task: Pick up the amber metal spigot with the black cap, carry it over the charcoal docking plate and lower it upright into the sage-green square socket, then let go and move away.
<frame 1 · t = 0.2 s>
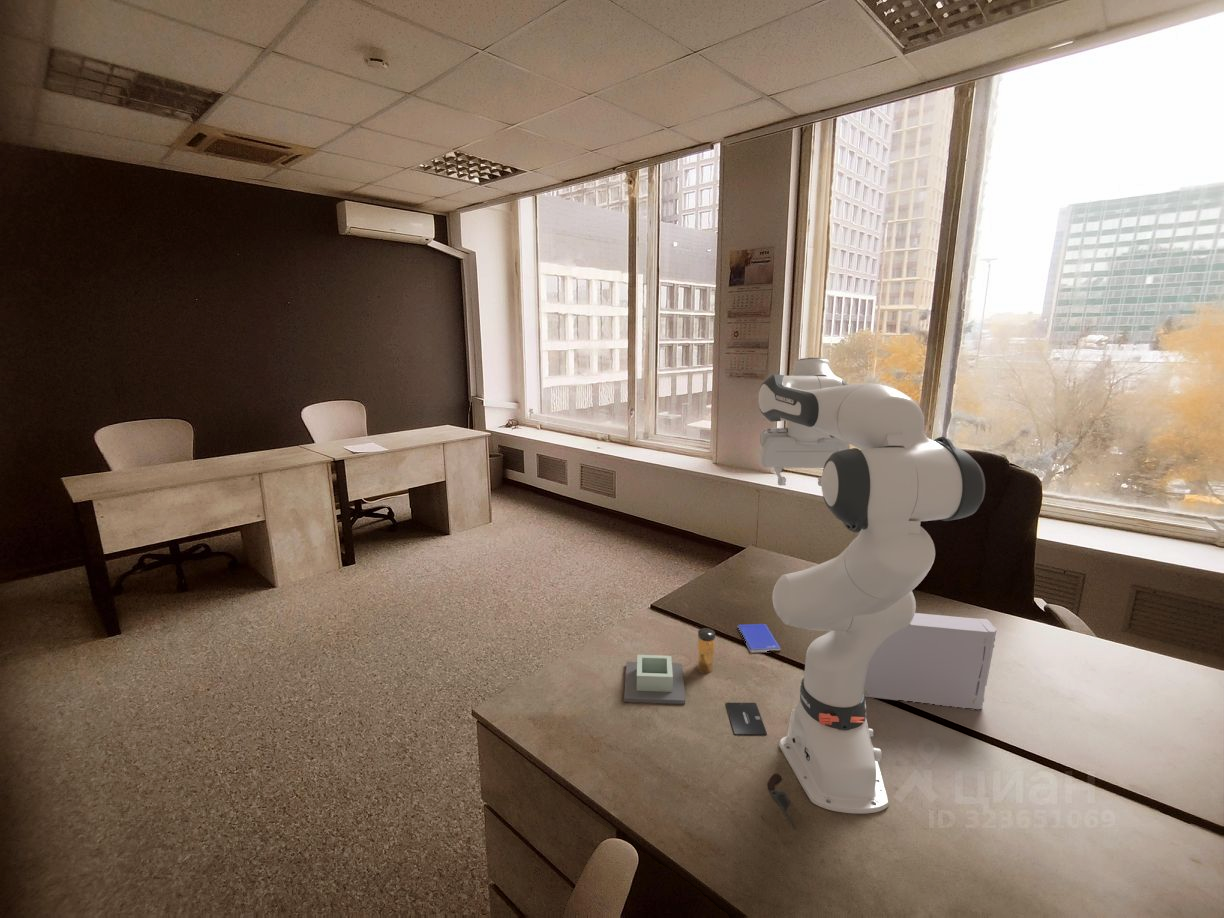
hand: (801, 485, 130), 47 cm above the table, tool pointing down, fingers open, 8 cm apart
dark curved piece: (789, 808, 99), on the table
hard drive: (758, 641, 151), on the table
docking plate: (654, 683, 133), on the table
solid state drive: (745, 721, 121), on the table
spigot: (705, 667, 139), on the table
game console: (915, 696, 128), on the table
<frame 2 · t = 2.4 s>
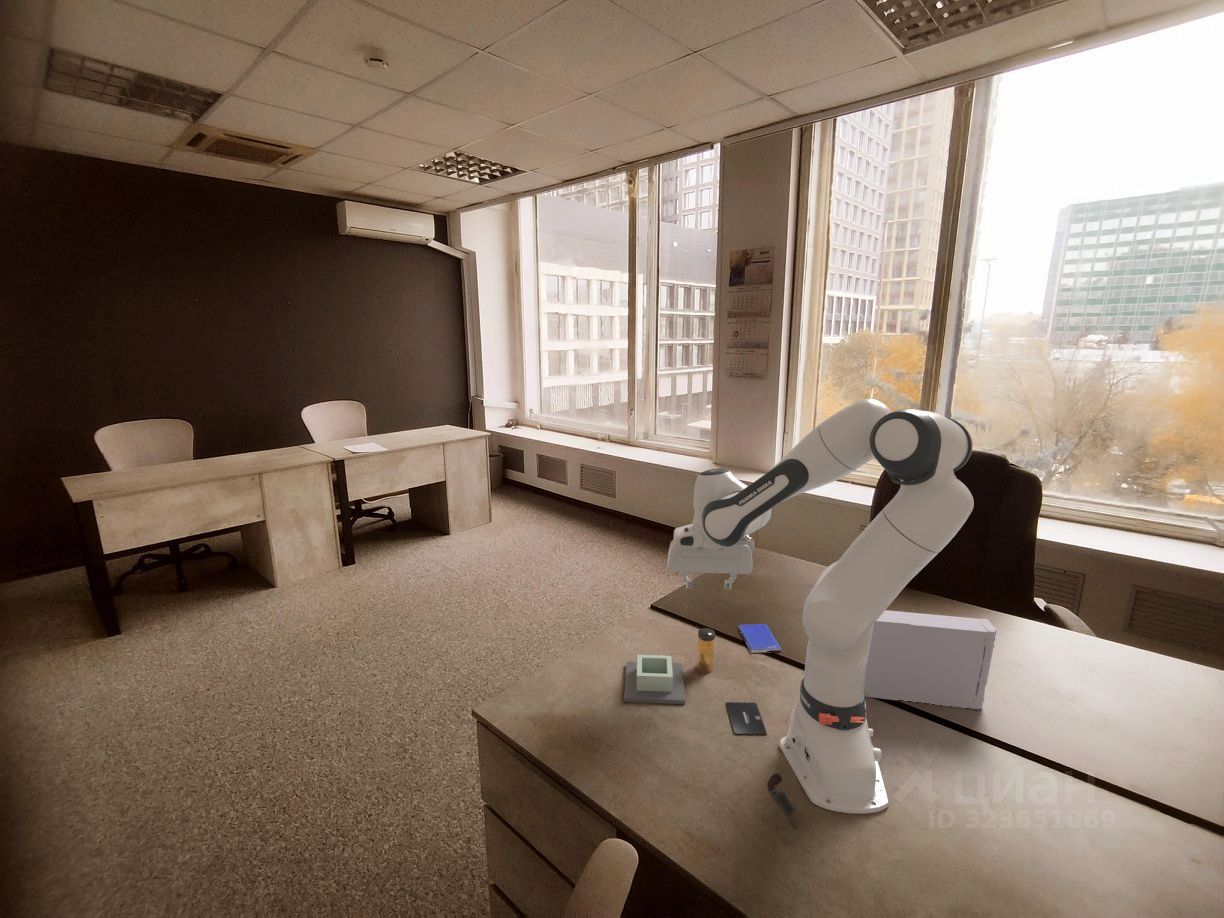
hand: (708, 587, 133), 22 cm above the table, tool pointing down, fingers open, 8 cm apart
nothing on the table moved.
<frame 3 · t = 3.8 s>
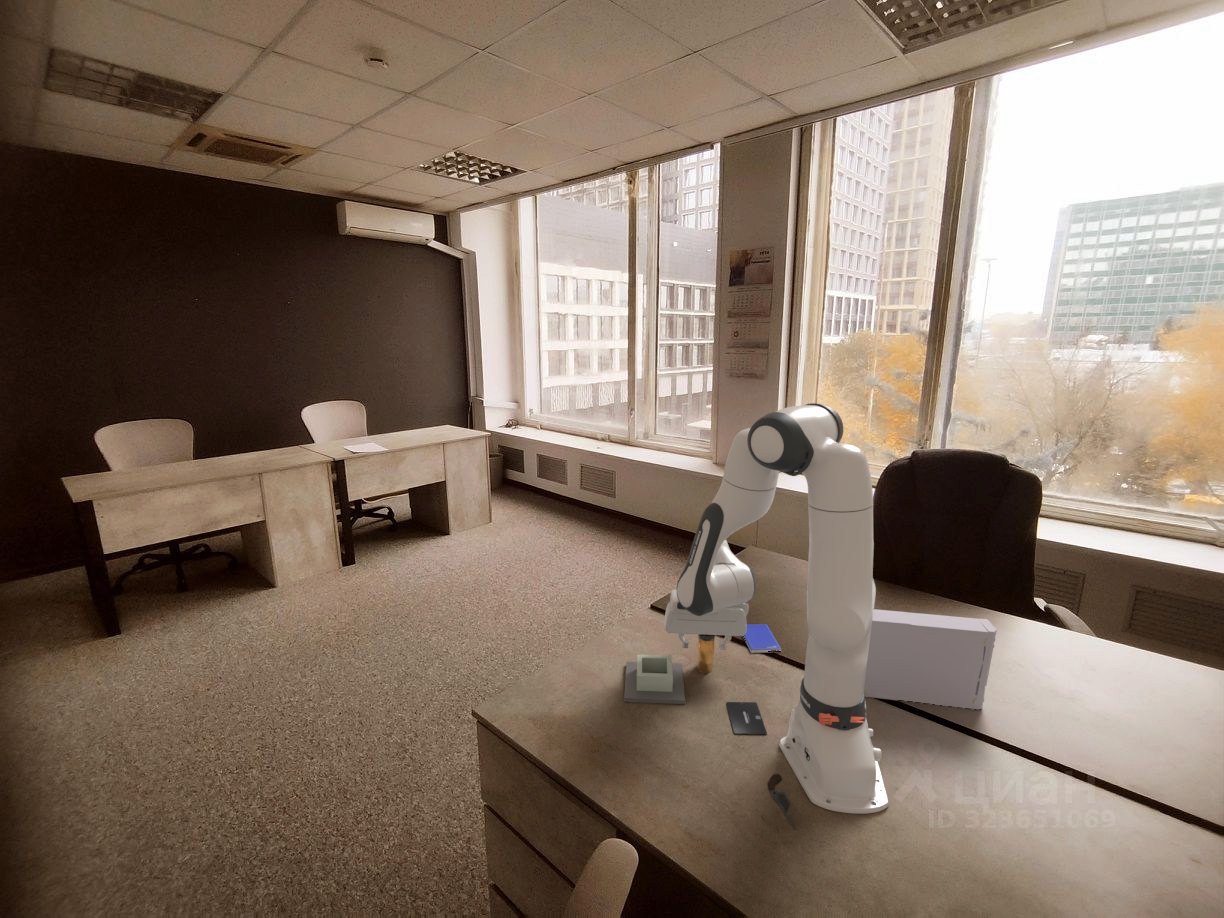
hand: (703, 647, 137), 6 cm above the table, tool pointing down, fingers open, 8 cm apart
nothing on the table moved.
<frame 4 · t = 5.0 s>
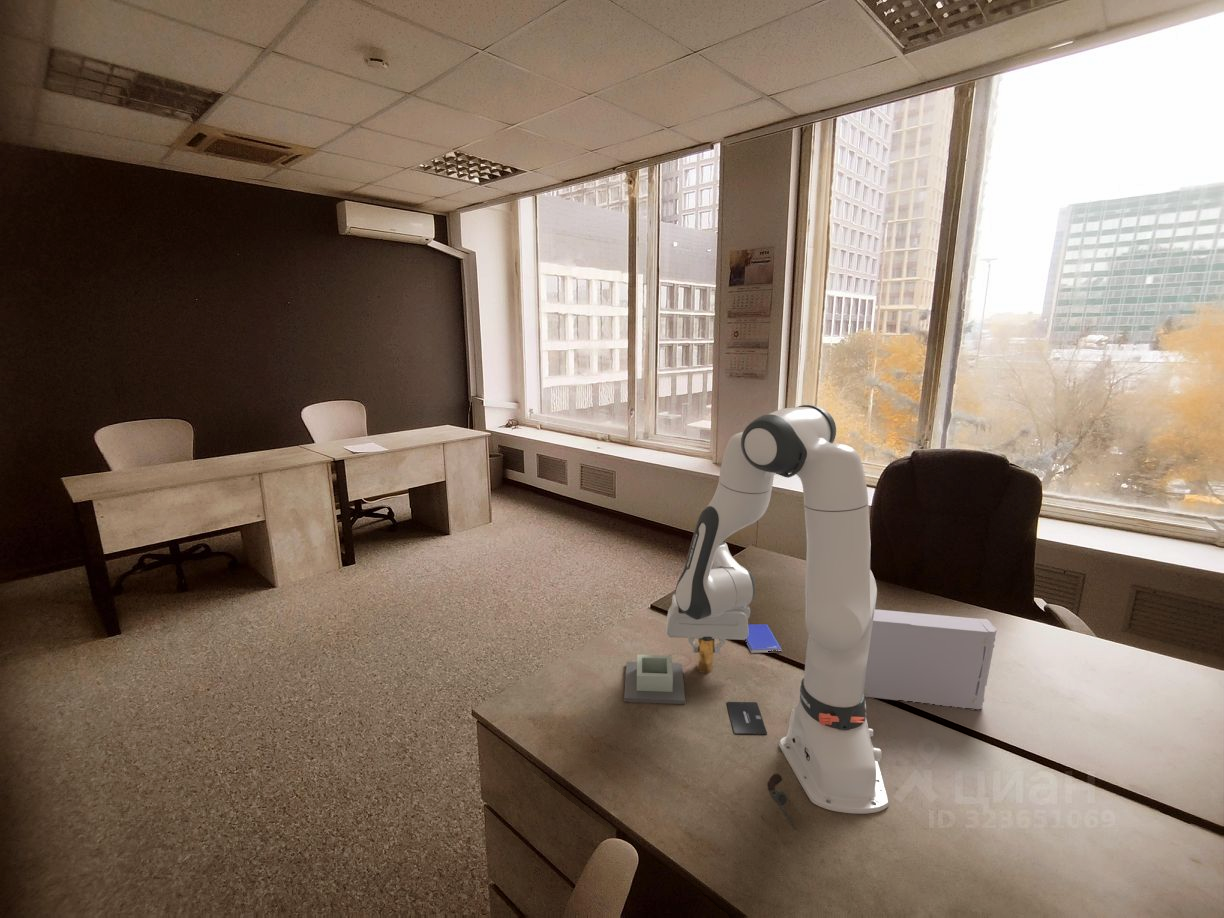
hand: (705, 651, 137), 5 cm above the table, tool pointing down, fingers closed on spigot, 4 cm apart
spigot: (705, 667, 139), on the table, touching gripper
everything else where it was.
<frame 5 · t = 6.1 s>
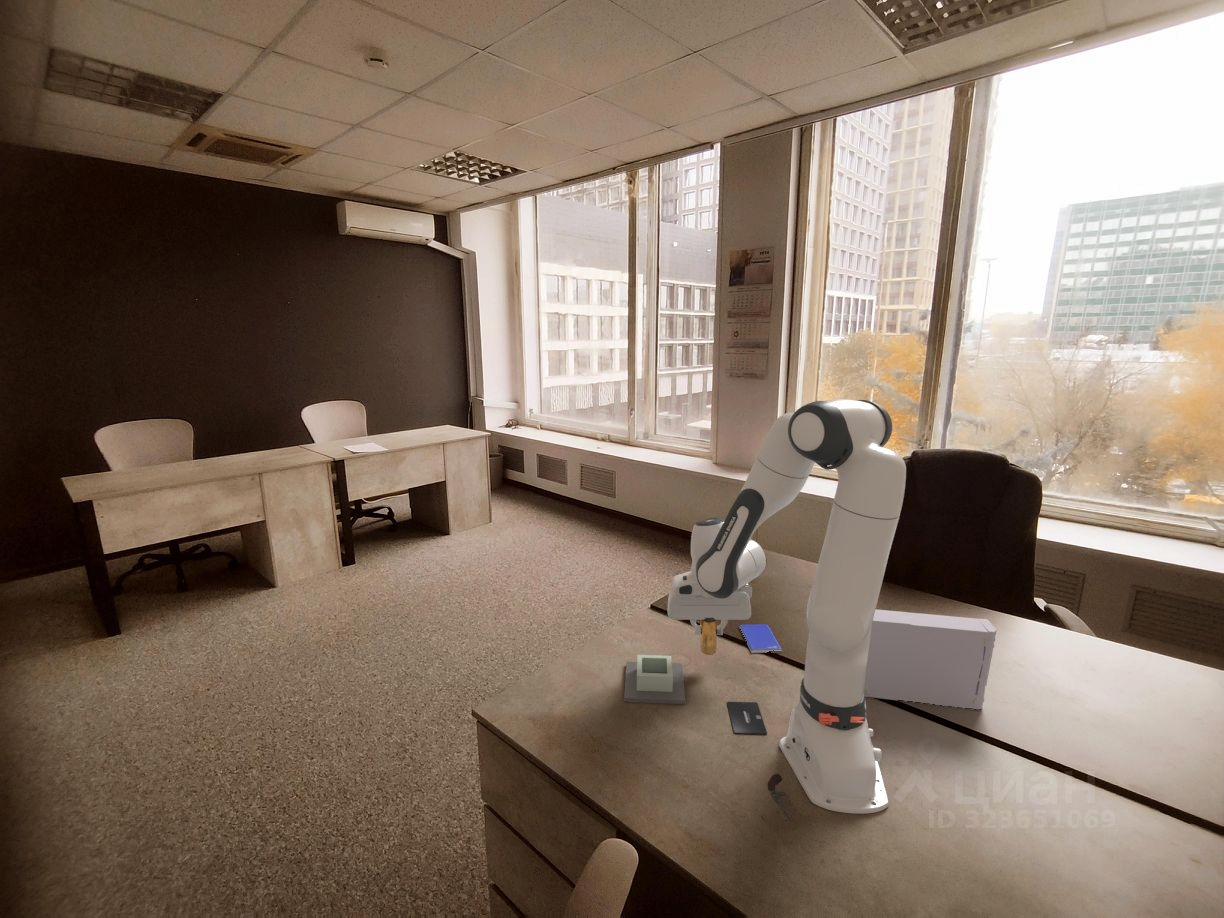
hand: (708, 633, 136), 10 cm above the table, tool pointing down, fingers closed on spigot, 4 cm apart
spigot: (708, 650, 137), point 5 cm above the table, touching gripper
everything else where it was.
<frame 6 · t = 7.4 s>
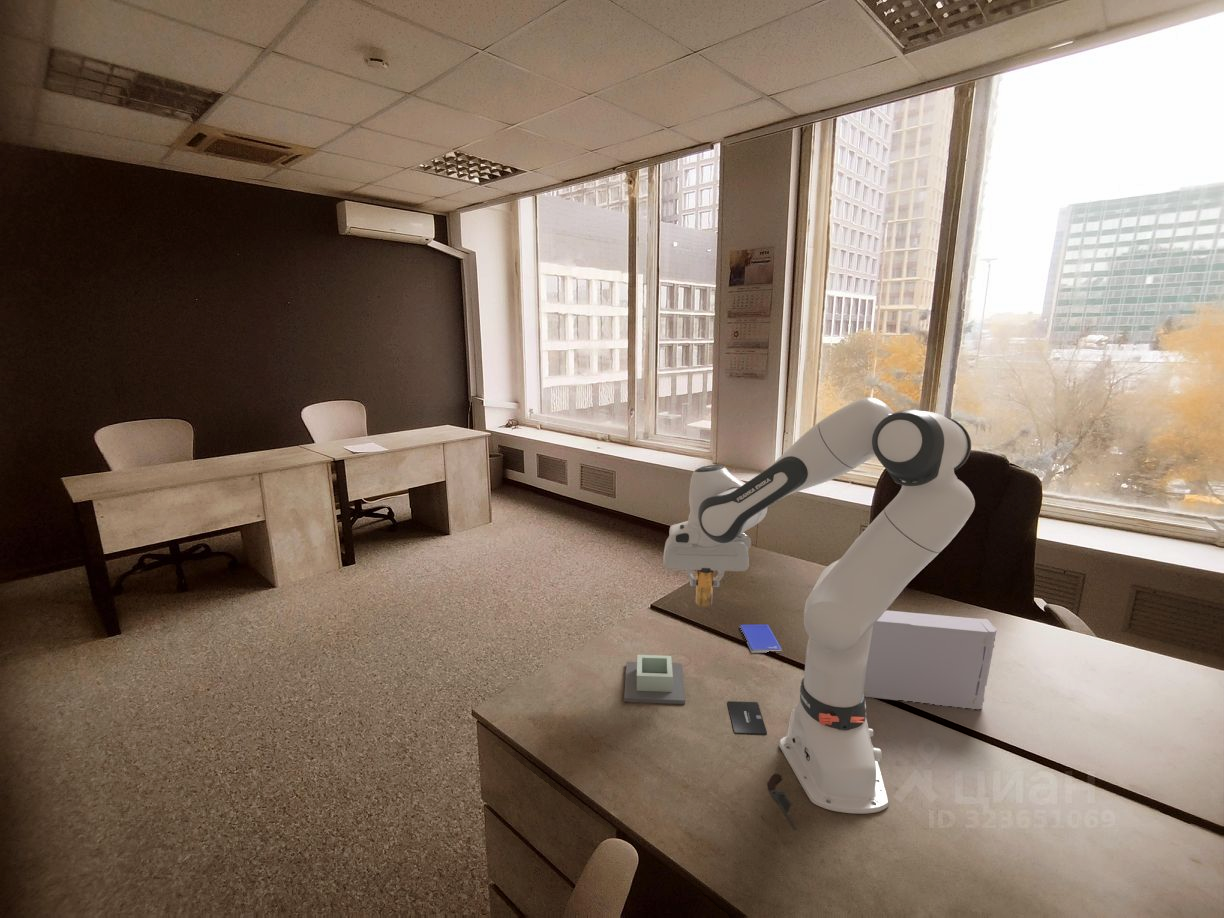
hand: (704, 585, 133), 23 cm above the table, tool pointing down, fingers closed on spigot, 4 cm apart
spigot: (703, 602, 134), point 19 cm above the table, touching gripper
everything else where it was.
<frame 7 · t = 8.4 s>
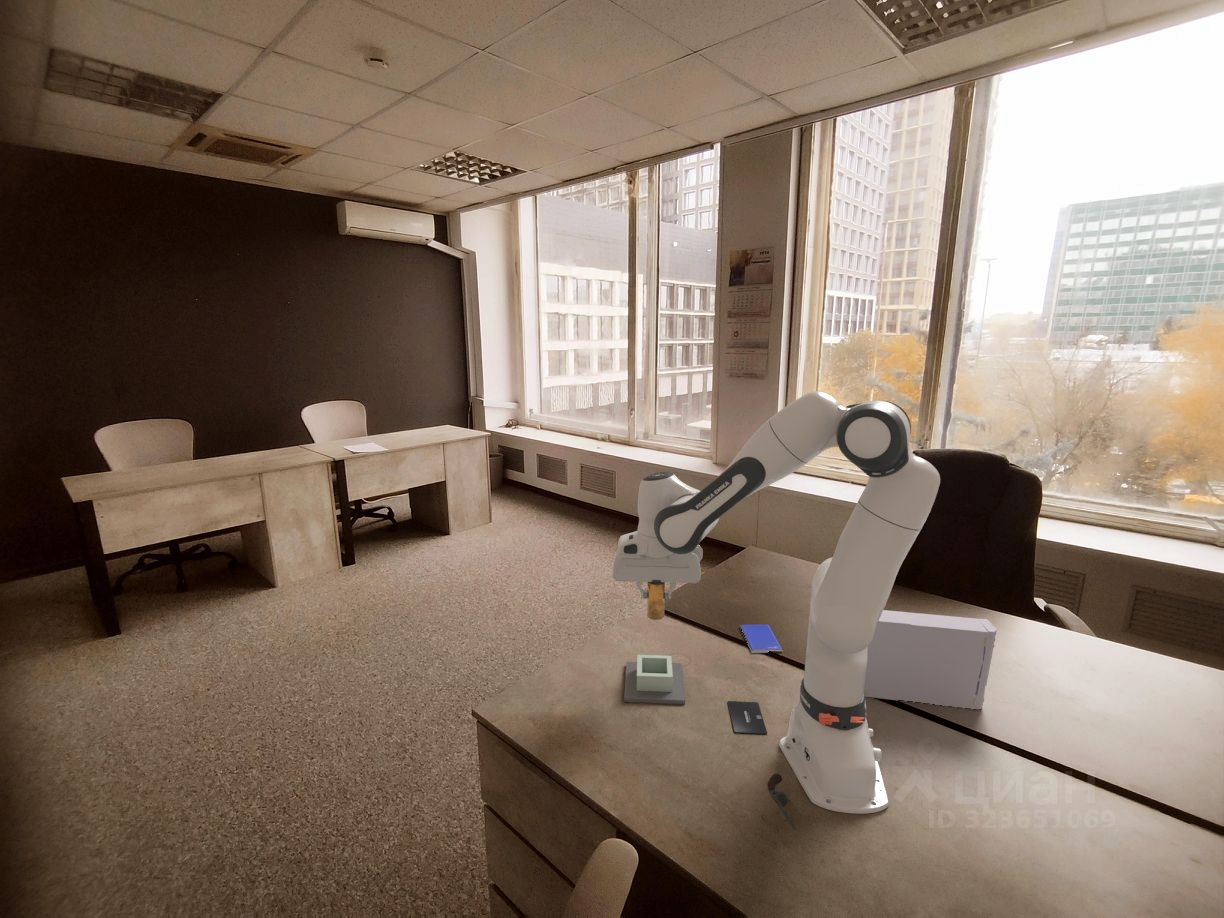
hand: (655, 597, 127), 23 cm above the table, tool pointing down, fingers closed on spigot, 4 cm apart
spigot: (655, 615, 128), point 18 cm above the table, touching gripper
everything else where it was.
when the fingers open (7 cm above the table, at t = 12.1 s): spigot stays where it is, resting on docking plate.
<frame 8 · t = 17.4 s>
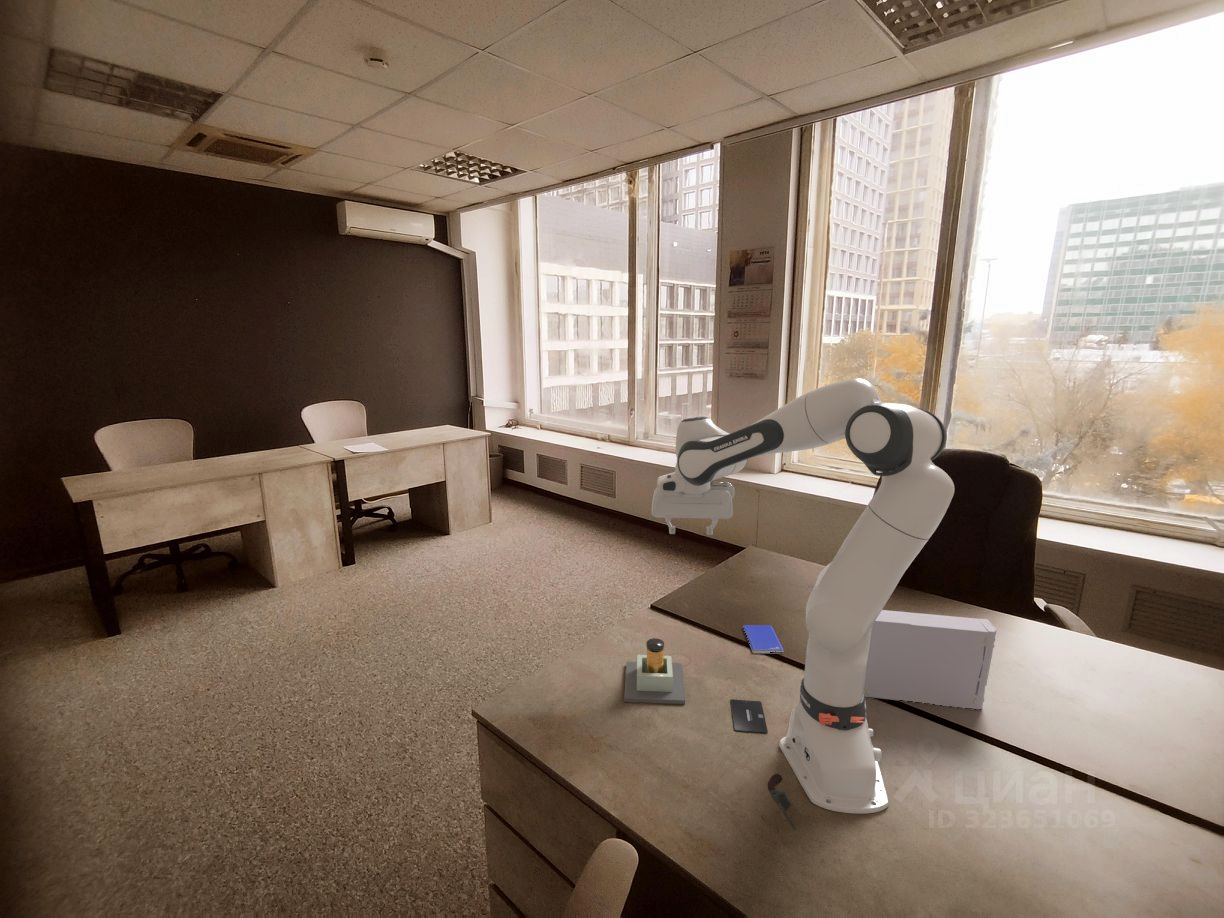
hand: (690, 533, 139), 33 cm above the table, tool pointing down, fingers open, 8 cm apart
spigot: (654, 679, 132), point 1 cm above the table, touching docking plate
at the end: spigot 0.1 cm off-centre on the docking plate, point 1.0 cm above the docking plate's base; spigot tilted 0°; the gripper is holding nothing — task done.
